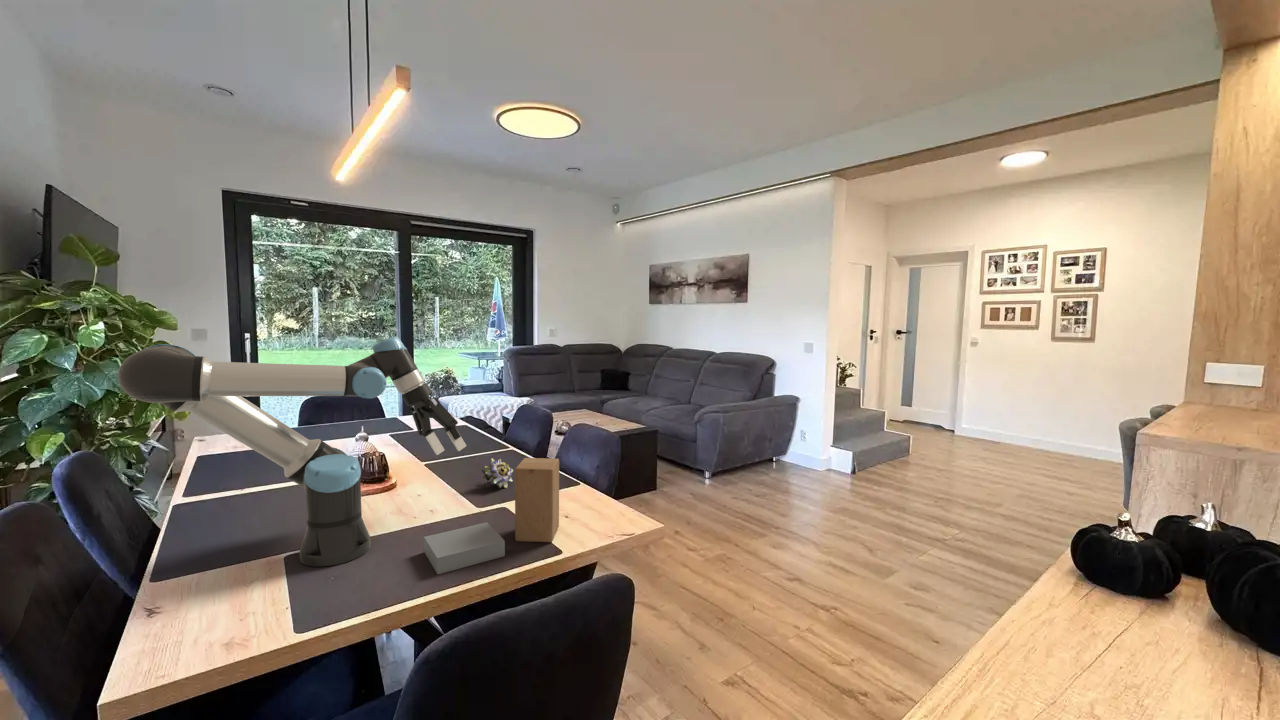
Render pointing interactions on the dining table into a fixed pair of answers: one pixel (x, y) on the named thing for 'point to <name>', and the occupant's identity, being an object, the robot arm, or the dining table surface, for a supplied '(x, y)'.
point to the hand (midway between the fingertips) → (451, 450)
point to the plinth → (463, 547)
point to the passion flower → (498, 473)
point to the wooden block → (536, 499)
